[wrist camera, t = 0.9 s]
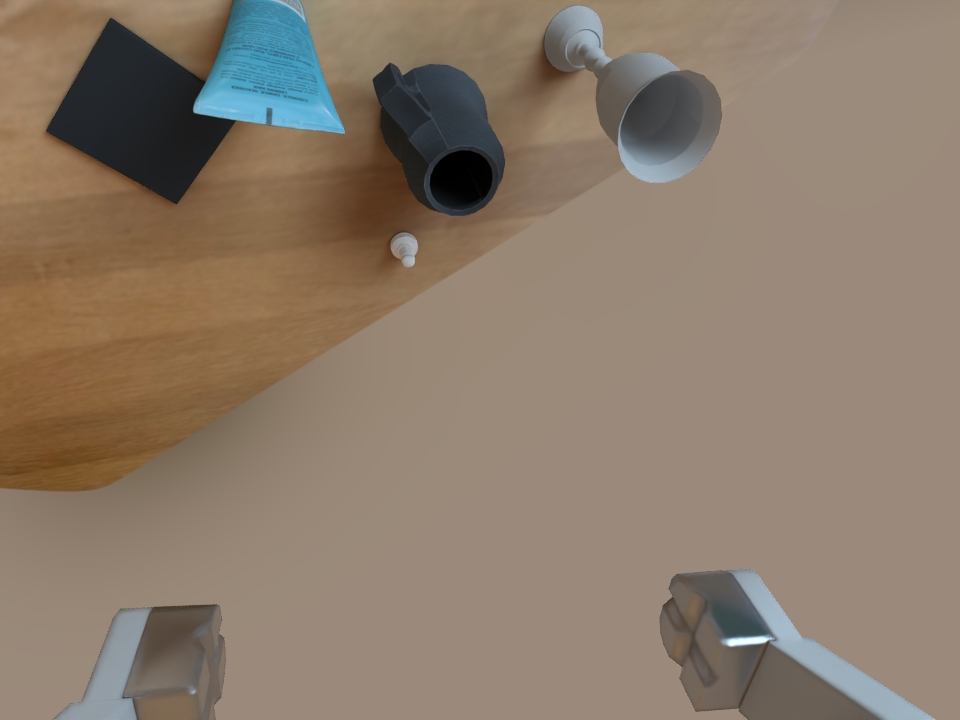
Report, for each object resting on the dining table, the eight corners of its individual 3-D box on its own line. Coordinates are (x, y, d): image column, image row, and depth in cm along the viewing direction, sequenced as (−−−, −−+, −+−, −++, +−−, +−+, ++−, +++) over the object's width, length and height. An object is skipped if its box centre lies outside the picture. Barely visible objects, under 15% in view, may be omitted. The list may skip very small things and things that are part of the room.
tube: (218, 44, 48) (198, 160, 34) (212, -32, 45) (187, 63, 31) (323, 53, 50) (344, 167, 36) (323, -18, 47) (346, 77, 33)
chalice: (624, 56, 56) (732, 147, 43) (554, 100, 57) (638, 202, 44) (595, -29, 51) (706, 45, 38) (518, 22, 52) (601, 110, 39)
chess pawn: (400, 259, 64) (405, 280, 61) (384, 241, 62) (389, 262, 60) (422, 245, 63) (428, 265, 61) (407, 227, 62) (412, 246, 59)
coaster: (111, 17, 46) (109, 19, 45) (242, 108, 51) (242, 111, 51) (47, 128, 49) (45, 131, 49) (177, 201, 55) (176, 204, 55)
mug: (507, 123, 57) (546, 183, 49) (428, 190, 60) (452, 258, 52) (417, 7, 50) (445, 57, 42) (330, 90, 52) (341, 152, 44)
